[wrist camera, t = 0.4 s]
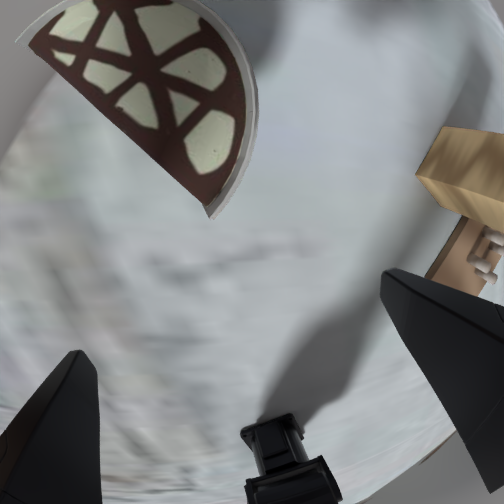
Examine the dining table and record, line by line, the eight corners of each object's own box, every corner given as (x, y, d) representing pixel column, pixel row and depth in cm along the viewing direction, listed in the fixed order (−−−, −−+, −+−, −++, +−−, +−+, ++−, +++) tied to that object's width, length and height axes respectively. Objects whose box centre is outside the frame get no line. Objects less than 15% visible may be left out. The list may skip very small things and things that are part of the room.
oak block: (440, 206, 25) (538, 250, 15) (415, 174, 24) (527, 211, 13) (466, 160, 24) (562, 188, 13) (443, 126, 22) (551, 143, 12)
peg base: (459, 312, 32) (479, 328, 28) (424, 276, 28) (449, 294, 24) (510, 225, 29) (532, 235, 26) (485, 172, 25) (512, 180, 22)
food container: (267, 123, 20) (335, 117, 11) (204, 186, 20) (220, 229, 11) (144, 10, 15) (122, -68, 6) (79, 73, 16) (8, 36, 6)
